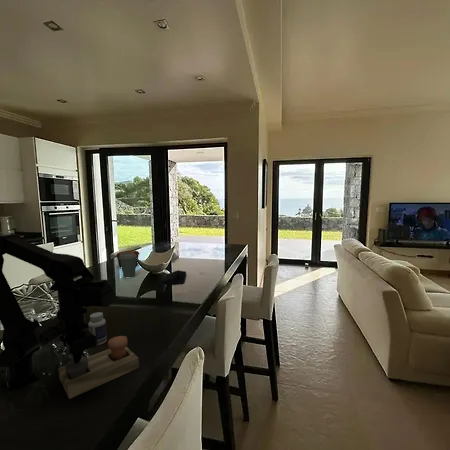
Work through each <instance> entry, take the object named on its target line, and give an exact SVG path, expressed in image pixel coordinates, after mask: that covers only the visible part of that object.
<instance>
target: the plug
mask: <svg viewBox="0 0 450 450" xmlns="http://www.w3.org/2000/svg"><path fill="white" fill-rule="evenodd" d="M65 365H66V372H67V373H68V374H69V377H70V380H71V379H74V378H76V377H78V376H81V375H83V374H86V368H87V367H88V359H87V358H86V356H82V357H81V359H80V362H79V363H76V364H75V363H74V361H73V358H72V359H70V360H69V361H67V362H66V364H65Z"/></svg>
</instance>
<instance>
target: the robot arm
mask: <svg viewBox="0 0 450 450" xmlns="http://www.w3.org/2000/svg"><path fill="white" fill-rule="evenodd" d="M4 255H9V256H12V257H13V258H16V259H18V260H21V261H22V262H24V263H27V264H29V265H32V266H34V267H36V268H39V269H41V270H42V271H43V273H44V275H45V276H46V277H47V278H49V279H50V280H52V281H54V283H53V284H52V285H51V286H50V287H48V291H50V292H52V291H55V292H57V298H58V299H57V300H58V301H57V302H58V310H57V311H56V313H55V314H56V317H54V318H52V319H50V320H48V321H46V322H44V323H43V324H41V325H40V322H39V320H37V319H35V320H33V321H32V320H30V319H28V318H27V317H26V316H25V314H24V311H23V309H22V308H21V306H20V304H19V302H18V300H17V298H16V296H15V294H14V292H13V290H12V288H11V286H10V284H9V282H8V279H7V278H6V276H5V274H4V272H3V268H4V263H5V258H4ZM79 277H80V278H79ZM113 299H114V289H113V287H112V285H111V284H110V283H109V280H108V279H97V280H96V278H95V276H94V275H93V273H92V272H91V271H90V270H89V268H88V267H87V266H86V265H85V263H84V259H82V258H81V257H79V256H76V255H72V254H67V253H57V252H52V251H51V250H48V249H46V248H43V247H41V246H38V245H36V244H34V243H32V242H29V241H27V240H25V239H23V238H20V237H19V236H18V235H16V234H11V233H10V234H3V235H0V322H1V325H2V328H3V333H2V339H1V343H2V346H3V350H2V351H1V353H0V367H2V368H4V367H5V368H7V375H8V376H6V382H7V389H8V390H12V389H15V388H17V387H20V386H23V385H25V384H28V383H31V382H33V381H36V380H38V379H39V376H38V373H37V370H36V367H35V364H34V353H36V352H37V351H39V350H40V349H41V346H42V347H43V346H46V345H48V344H49V343H50V342H51V341H53V340H55V339H57V338H59V340H60V341H61V343H62V344H63V346H64V348H66V350H67V352H68V353H69V354H70V356H71V357H72V359H73V361H74V363H75V364H76V363H79V362H80V359H81V357H83V355H84V354H83V353H84V351H86V350H88V349H91V348H93V347H97V346H98V345H97V344H98V342H97V336H96V335H95V334H94V333H93V332H91V331H89V326H88V324H89V323H87V322H86V313H88V311H87V308H108V307H110V305H111V304H112V302H113ZM86 329H88V330H86ZM60 335H61V336H60Z"/></svg>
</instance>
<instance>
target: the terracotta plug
mask: <svg viewBox="0 0 450 450" xmlns="http://www.w3.org/2000/svg"><path fill="white" fill-rule="evenodd" d="M127 346H128V337H127V336H125V335H118V336H114V337H111V338H110V339H109V340H108V341H107V347H108V349H110V350H111V357H112V359H120V358H123V357H124V356H125V355H126V347H127Z"/></svg>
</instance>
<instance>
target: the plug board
mask: <svg viewBox="0 0 450 450" xmlns="http://www.w3.org/2000/svg"><path fill="white" fill-rule="evenodd" d="M85 357H86V356H85ZM86 358H87V359H88V367H87V368H86V374H83V375H81V376H78V377H76V378H74V379H71V380H70V377H69V374H68V373H67V372H66V364H65V365H63V366H61V367H58V368H57V370H58V379H59V381H60V383H61V385H62V387H63V389H64V391H65V393H66V395H67V397H68V399H69V400H71V399H73V398H75V397H77V396H79V395H82V394H83V393H84V394H85V393H86V392H88V391H91V390H93V389H94V388H95V389H96V388H98V387H99V386H102V385H104V384H106V383H108V382H111V381H112V380H114V379H117V378H119V377H121V376H124V375H126V374H128V373H130V372H133V371H134V370H137V369H139V368H140V363H139V357H138V355H136V354H135V353H134V352H133V351H132V350H130V348H129V347H127V346H126V355H125V356H124V357H123V358H120V359H112V357H111V350H110V349H109V348H107V349H105V350H103V351H100V352H97V353H95V354H93V355H90V356H87V357H86Z"/></svg>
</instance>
